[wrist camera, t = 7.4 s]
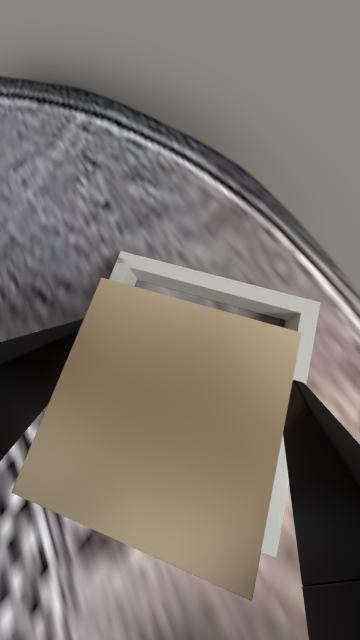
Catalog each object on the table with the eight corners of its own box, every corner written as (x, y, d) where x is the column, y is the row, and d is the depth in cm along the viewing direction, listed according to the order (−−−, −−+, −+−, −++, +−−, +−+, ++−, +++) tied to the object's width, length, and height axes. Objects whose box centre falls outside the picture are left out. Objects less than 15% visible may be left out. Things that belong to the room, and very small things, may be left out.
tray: (261, 523, 14) (276, 557, 11) (60, 442, 16) (36, 456, 13) (302, 311, 17) (320, 302, 15) (129, 265, 19) (120, 251, 17)
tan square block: (203, 409, 16) (251, 601, 3) (151, 392, 16) (11, 492, 4) (217, 356, 17) (301, 332, 4) (168, 340, 17) (101, 277, 4)
